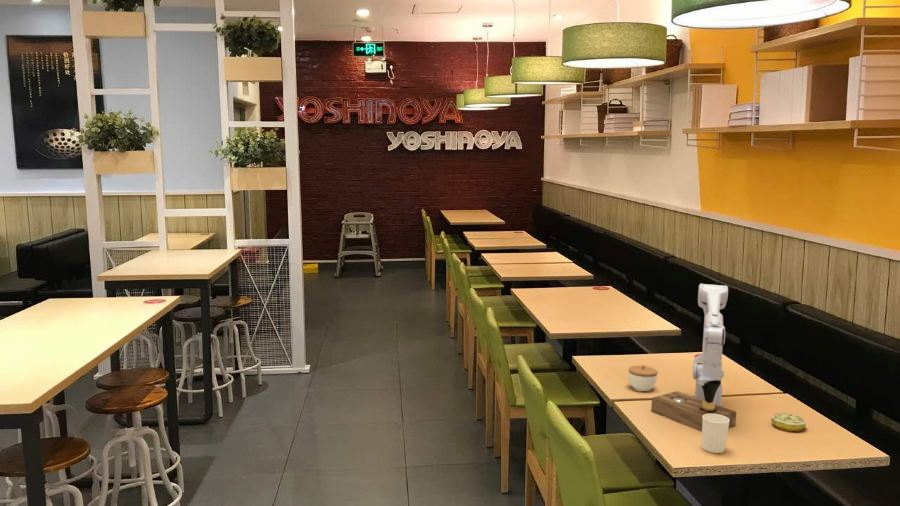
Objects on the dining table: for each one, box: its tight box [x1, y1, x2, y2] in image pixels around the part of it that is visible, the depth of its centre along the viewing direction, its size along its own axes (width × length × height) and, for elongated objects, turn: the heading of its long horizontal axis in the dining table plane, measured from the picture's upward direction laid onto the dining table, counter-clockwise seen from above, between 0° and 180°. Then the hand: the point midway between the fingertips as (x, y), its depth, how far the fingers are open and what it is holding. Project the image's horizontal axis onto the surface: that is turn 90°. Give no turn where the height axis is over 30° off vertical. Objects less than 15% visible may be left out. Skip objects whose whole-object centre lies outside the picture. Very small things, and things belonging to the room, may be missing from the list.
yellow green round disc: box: [770, 412, 807, 432], centre depth 248 cm, size 10×11×4 cm
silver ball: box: [673, 398, 685, 402], centre depth 258 cm, size 4×4×4 cm
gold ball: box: [702, 399, 715, 413], centre depth 248 cm, size 4×4×4 cm
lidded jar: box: [628, 364, 659, 393], centre depth 282 cm, size 11×11×9 cm
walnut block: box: [650, 390, 737, 432], centre depth 253 cm, size 14×24×5 cm, turn 35°
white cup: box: [701, 414, 730, 454], centre depth 228 cm, size 8×8×10 cm
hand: (708, 401), depth 248 cm, fingers closed
